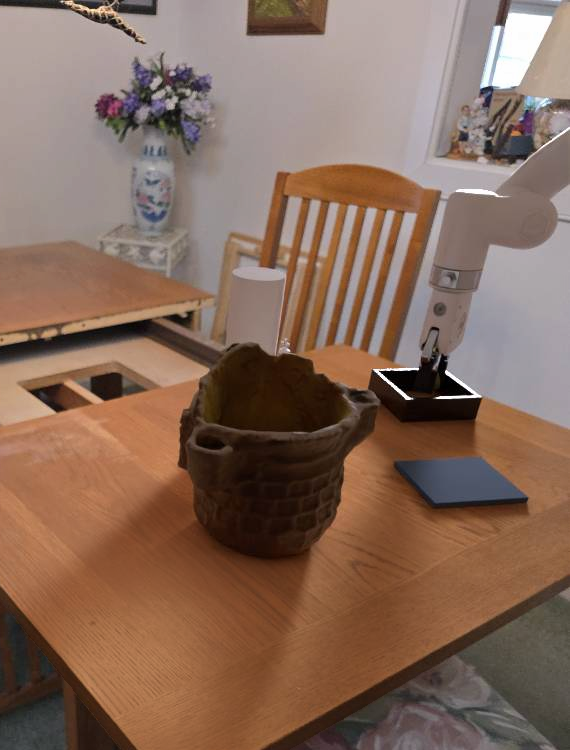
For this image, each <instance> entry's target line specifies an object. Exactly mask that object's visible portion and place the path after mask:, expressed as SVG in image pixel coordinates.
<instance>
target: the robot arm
mask: <svg viewBox="0 0 570 750" xmlns="http://www.w3.org/2000/svg"><path fill="white" fill-rule="evenodd" d="M569 185H570V126H569V127H568V128H567V129H565V130H564V131H563V132H561V133H560V134H558V135H557V136H555V137H554V138H552V140H550V141H548V142H546V144H544V145H543V146H541V147H540V148H539V149H538V150H537V151H535V152H534V153H533V154H532V155H530V156H529V157H528V158H527V159H526V160H525V161H524V162H523V163H522V164H520V165H519V166H518V167H517V168H516V169H515V170H514V171H513V172H512V173H511V174H510V175H509V176H508V177H507V178H506V179H505V180H504V181H503V182H501V184H500V185H499V186H498V188H496V189H495V191H494V192H492V191H488V190H483V189H471V188H469V189H468V188H467V189H466V188H465V189H457V190H454V191H452V193H451V194H449V196H448V197H447V200H446V203H445V208H444V211H443V216H442V221H441V225H440V230H439V233H438V234H439V235H438V238H437V243H436V248H435V252H434V256H433V261H432V264H431V270H430V272H429V273H430V274H429V278H428V283H427V285H428V287H429V288H432V291H431V294H430V298H429V301H428V305H427V308H426V312H425V315H424V316H425V317H424V319H423V324H422V329H421V332H420V336H419V342H418V348H419V350H420V351H421V355H420V361H419V364H418V371H417V376H416V380H415V384H414V391H413V392H419V393H422V394H427V395H432V394H434V391H435V390H434V387H435V383H436V379H437V375H438V374H439V377H440V384H442V383H443V381H444V377H445V373H446V371H447V368H448V365H449V359H450V356H451V354H452V353H453V352H454V351H455V350H456V349H457V348H458V347H459V346H460V345H461V344H462V343H463V340H464V336H465V331H466V327H467V323H468V319H469V313H470V308H471V305H472V299H473V293H476V292H477V291H478V290H479V286H480V281H481V278H482V274H483V270H484V268H485V263H486V259H487V255H488V253H489V248H490V246H491V245H492V246H498V247H502V248H508V249H512V250H520V251H521V250H522V251H525V250H531V249H535V248H538V247H539V246H542V245H543V244H544V243H546V242H547V241H548V240H549V239H550V238H551V237H552V235H554V233H555V231H556V229H557V227H558V223H559V213H558V210H557V207H556V206H555V204H554V203H553V201H552V200H551V199H553V198H554V197H555V196H557V195H558V193H560V192H561V191H562V190H564V189H565V188H567V187H568V186H569ZM436 370H437V371H436Z"/></svg>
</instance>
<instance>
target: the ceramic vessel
mask: <svg viewBox="0 0 570 750" xmlns="http://www.w3.org/2000/svg"><path fill="white" fill-rule="evenodd" d="M380 402H381V401H380V400H379V399H378V398H377V397H376V395H375V394H374V393H373V392H372V391H370V390H368V389H364V388H363V389H361V388H360V389H359V388H358V389H357V388H356V387H353V386H352V387H351V386H348V385H347V384H345V383H343V382H339V381H333V380H331V379H330V378H329V377H328V376H327V375H326V374H325V372H317V373H316V370H315V366H314V360H313V359H311V358H308V357H304V356H301V355H299V354H295V353H292V352H290V353H282V354H280V355H279V354H278V355H276V356H275V355H271V354H269V353H268V352H266V351H265V350H264V349H263V348H262V347H261V346H260V344H258V343H254V342H246V343H241V344H240V343H233V344H232V345H231V346H229V347H228V348H226V349H225V348H223V349H222V350H221V351H219V352H218V355H217V363H216V364H214V365H213V366H211V367H210V368H209V370H208V372H207V373H206V374H204V375H202V376H201V377H200V378H199V381H198V390H197V391H196V393H194V395H193V397H192V399H191V402H190V404H189V406H188V408H183V409H182V411H181V415H180V420H179V423H180V426H179V428H178V429H179V439H178V442H179V450H178V460H177V468H180V469H182V470H185V472H187V474H188V477H189V479H190V481H191V483H192V506H193V512H194V514H195V517H196V519H197V522H199V524H200V525H202V527H203V528H204V529H205V530H206V531H207V533H208V534H209V535H211V537H213V538H214V539H215V540H217V542H219V543H220V544H221V545H222V546H223V547H227V548H230V549H231V550H232V549H233V550H235V551H238V552H240V553H241V554H245V555H249V556H257V557H262V558H265V559H266V558H267V559H268V558H269V559H270V558H275V557H281V556H289V555H290V556H291V555H299V554H301V553H302V552H304V551H306V550H308V549H309V548H310V547H312V546H313V545H315V544H316V543H317V542H319V540H320V539H321V538H322V536H323V535H324V534H325V532H326V531H327V530H328V529H330V527H332V525H333V523H334V521H335V519H336V517H337V513H338V508H339V506H340V504H341V502H342V488H343V485H344V481H345V466H344V465H345V461H346V458H347V457H348V455H349V454H351V452H352V451H353V450H354V449H355V448H356V447H357V446H358V445H360V444H361V443H363V442H364V441H366V439H368V438H369V437H370V436H371V435H372V434H373V433H374V432H375V428H376V424H377V423H376V421H377V417H378V413H379V411H380V407H381V403H380Z"/></svg>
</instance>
